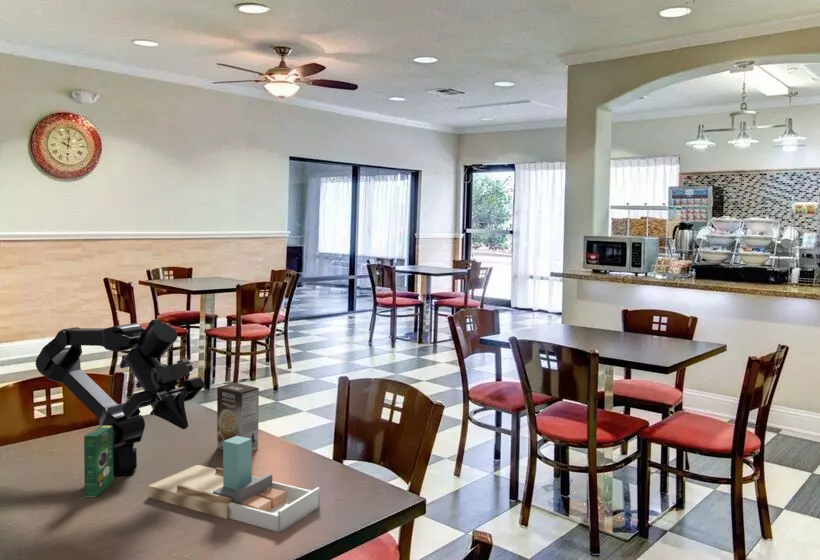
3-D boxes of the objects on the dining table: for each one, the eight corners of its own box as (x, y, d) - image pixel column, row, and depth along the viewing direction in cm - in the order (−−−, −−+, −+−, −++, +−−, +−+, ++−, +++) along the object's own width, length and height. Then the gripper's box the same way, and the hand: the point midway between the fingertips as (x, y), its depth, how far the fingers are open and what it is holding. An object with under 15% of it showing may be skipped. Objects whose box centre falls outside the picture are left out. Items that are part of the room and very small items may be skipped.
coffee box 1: (101, 482, 145) (100, 423, 144) (114, 482, 145) (113, 424, 144) (83, 497, 137) (82, 435, 136) (97, 497, 137) (96, 435, 136)
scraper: (212, 496, 133) (212, 445, 132) (246, 479, 142) (246, 431, 141) (240, 503, 130) (240, 451, 129) (272, 486, 138) (272, 437, 138)
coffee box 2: (215, 448, 169) (215, 386, 167) (234, 441, 174) (234, 381, 173) (241, 455, 164) (241, 392, 162) (259, 448, 169) (260, 387, 168)
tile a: (257, 504, 135) (257, 494, 135) (270, 497, 138) (270, 487, 138) (273, 508, 133) (273, 498, 133) (285, 500, 136) (285, 491, 136)
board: (148, 497, 138) (148, 480, 138) (197, 475, 151) (197, 460, 150) (226, 518, 129) (225, 501, 128) (271, 493, 141) (271, 477, 141)
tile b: (241, 511, 130) (241, 502, 130) (254, 504, 134) (255, 495, 134) (257, 517, 128) (258, 507, 128) (270, 509, 132) (271, 500, 132)
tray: (228, 518, 129) (228, 498, 129) (271, 494, 141) (271, 476, 140) (280, 532, 124) (280, 511, 123) (319, 506, 135) (319, 487, 135)
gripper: (131, 355, 134) (172, 416, 130) (198, 341, 151) (236, 395, 147) (105, 388, 138) (143, 448, 134) (173, 371, 155) (209, 424, 151)
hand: (186, 427), depth 142 cm, fingers closed
